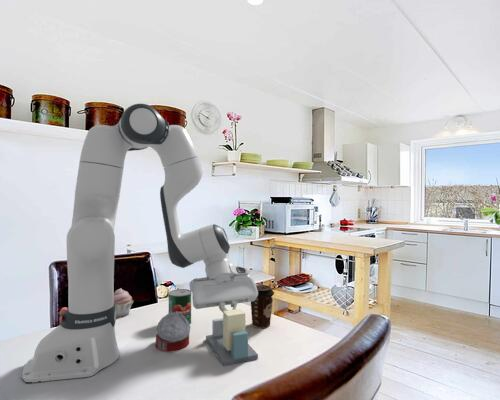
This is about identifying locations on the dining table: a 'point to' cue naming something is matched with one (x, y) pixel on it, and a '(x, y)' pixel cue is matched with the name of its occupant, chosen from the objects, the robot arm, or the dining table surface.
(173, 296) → the canned tomato
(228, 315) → the sleeve
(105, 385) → the dining table surface
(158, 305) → the dining table surface
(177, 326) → the canned food
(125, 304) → the cupcake
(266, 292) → the coffee cup
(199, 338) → the dining table surface
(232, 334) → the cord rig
